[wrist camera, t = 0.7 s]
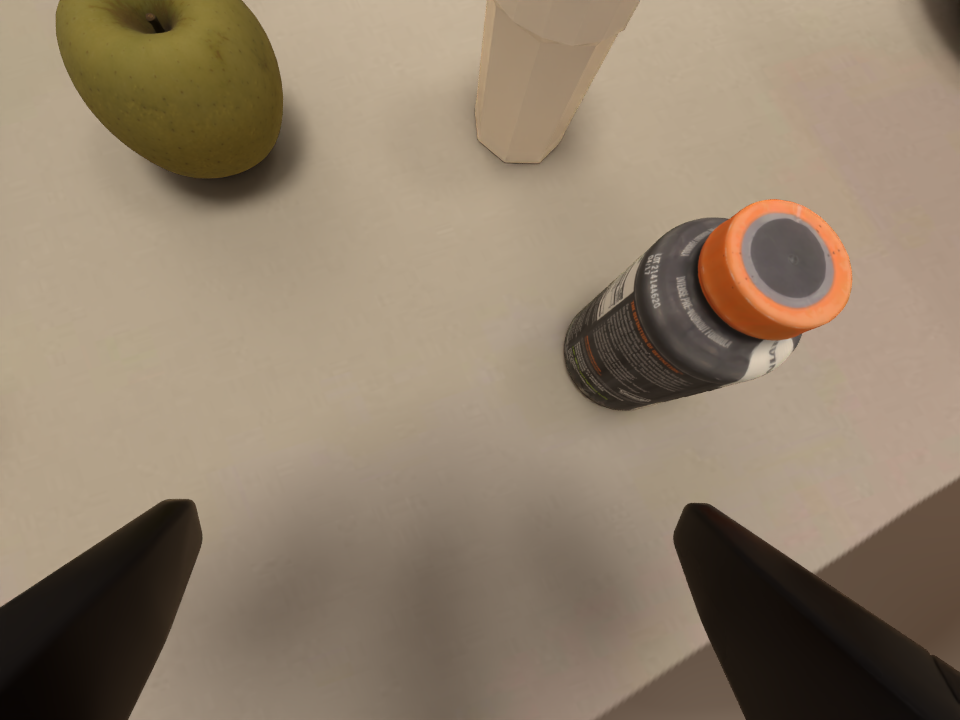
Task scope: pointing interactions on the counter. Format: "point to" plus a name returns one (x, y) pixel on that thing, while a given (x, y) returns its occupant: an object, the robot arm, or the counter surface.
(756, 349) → the pill bottle
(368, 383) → the counter surface
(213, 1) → the apple
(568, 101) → the cup
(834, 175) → the counter surface
